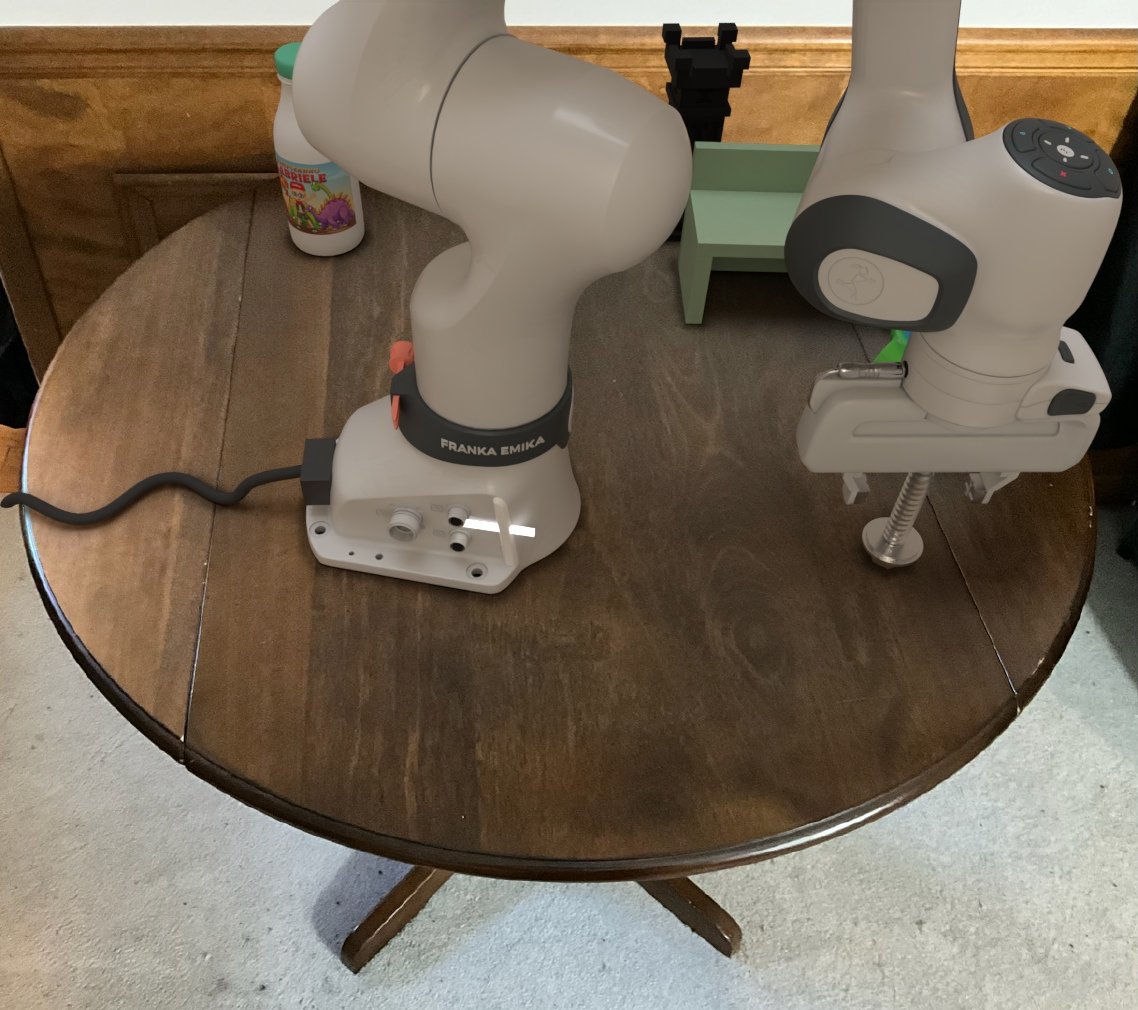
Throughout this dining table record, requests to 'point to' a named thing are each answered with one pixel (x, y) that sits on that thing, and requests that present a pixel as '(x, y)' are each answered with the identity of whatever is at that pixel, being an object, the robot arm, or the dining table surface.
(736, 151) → the shelf
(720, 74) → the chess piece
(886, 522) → the screw
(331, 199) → the milk bottle
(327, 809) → the dining table surface
